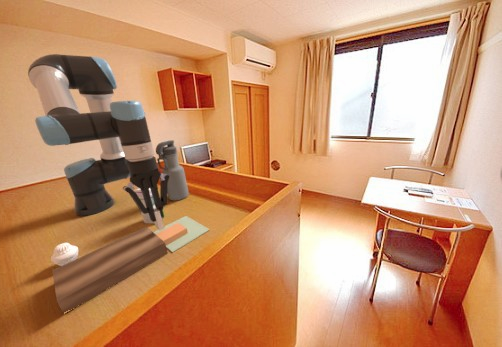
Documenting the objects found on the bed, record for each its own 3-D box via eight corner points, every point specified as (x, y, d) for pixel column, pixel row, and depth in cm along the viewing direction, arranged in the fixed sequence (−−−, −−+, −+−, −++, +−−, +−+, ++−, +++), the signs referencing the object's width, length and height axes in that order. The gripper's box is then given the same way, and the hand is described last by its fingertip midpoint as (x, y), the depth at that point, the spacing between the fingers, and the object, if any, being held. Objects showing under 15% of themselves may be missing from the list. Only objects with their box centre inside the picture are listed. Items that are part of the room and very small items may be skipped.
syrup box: (156, 223, 77) (147, 189, 72) (143, 223, 78) (133, 189, 73) (165, 216, 82) (157, 183, 77) (153, 215, 83) (144, 183, 78)
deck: (58, 282, 53) (52, 270, 51) (149, 236, 69) (146, 226, 68) (64, 315, 44) (56, 301, 42) (167, 253, 60) (164, 242, 59)
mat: (151, 233, 70) (151, 233, 70) (186, 216, 80) (186, 215, 80) (172, 252, 60) (172, 251, 60) (209, 230, 69) (209, 229, 69)
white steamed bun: (75, 254, 63) (67, 236, 61) (86, 258, 61) (78, 239, 59) (51, 268, 58) (41, 249, 56) (62, 273, 56) (52, 253, 53)
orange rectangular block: (154, 240, 66) (153, 235, 66) (179, 227, 72) (178, 222, 72) (162, 247, 62) (161, 242, 62) (187, 233, 68) (186, 228, 68)
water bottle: (176, 203, 93) (163, 144, 84) (164, 199, 98) (149, 143, 89) (193, 194, 101) (182, 139, 92) (180, 191, 106) (169, 139, 97)
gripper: (119, 165, 50) (143, 243, 57) (168, 154, 58) (184, 222, 66) (111, 162, 55) (134, 233, 62) (157, 151, 63) (173, 215, 71)
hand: (160, 227), depth 64 cm, fingers closed
